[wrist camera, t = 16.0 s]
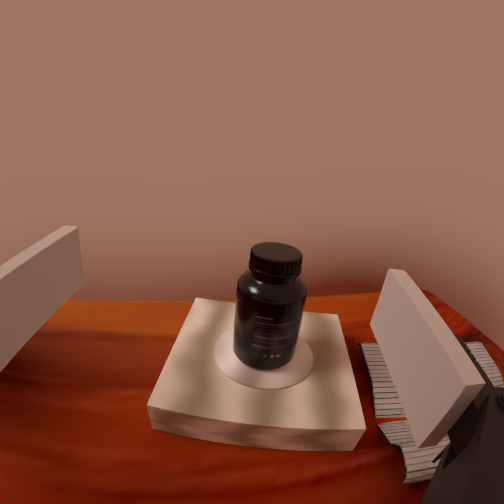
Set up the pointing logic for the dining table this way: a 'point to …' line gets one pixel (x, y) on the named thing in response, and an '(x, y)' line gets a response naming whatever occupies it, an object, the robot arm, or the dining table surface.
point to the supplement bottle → (269, 306)
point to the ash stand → (258, 387)
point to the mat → (390, 406)
